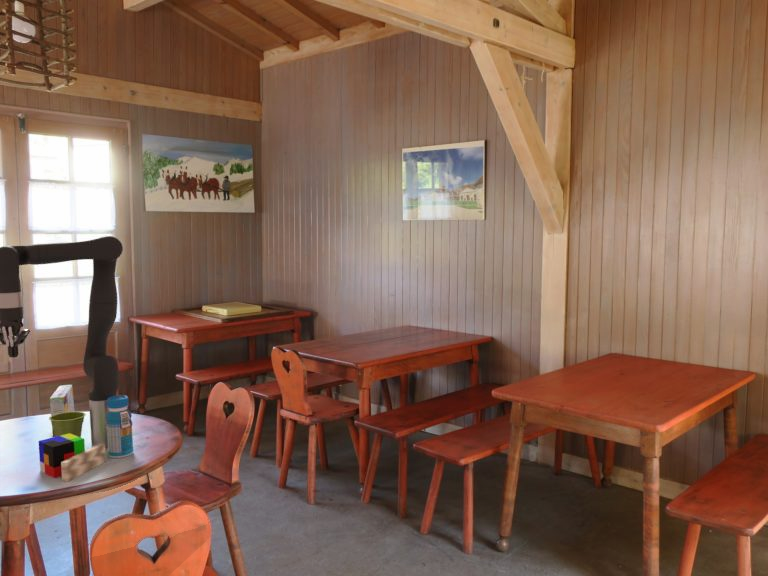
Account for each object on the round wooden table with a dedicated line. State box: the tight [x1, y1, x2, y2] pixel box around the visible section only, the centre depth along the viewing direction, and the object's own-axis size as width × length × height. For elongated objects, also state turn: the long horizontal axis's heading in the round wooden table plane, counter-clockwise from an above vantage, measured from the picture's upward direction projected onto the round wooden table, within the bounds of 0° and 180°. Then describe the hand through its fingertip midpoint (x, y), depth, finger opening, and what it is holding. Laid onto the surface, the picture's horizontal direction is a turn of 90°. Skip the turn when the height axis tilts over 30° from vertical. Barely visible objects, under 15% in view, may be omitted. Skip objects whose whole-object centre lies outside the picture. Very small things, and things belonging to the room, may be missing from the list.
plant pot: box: [48, 411, 86, 438], centre depth 235 cm, size 12×12×11 cm
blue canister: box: [106, 395, 134, 459], centre depth 225 cm, size 8×8×20 cm
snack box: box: [49, 384, 76, 437], centre depth 257 cm, size 21×6×15 cm, turn 17°
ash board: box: [61, 444, 107, 483], centre depth 210 cm, size 18×2×6 cm, turn 166°
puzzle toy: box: [38, 433, 86, 479], centre depth 211 cm, size 10×10×10 cm
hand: (13, 357), depth 220 cm, fingers closed
